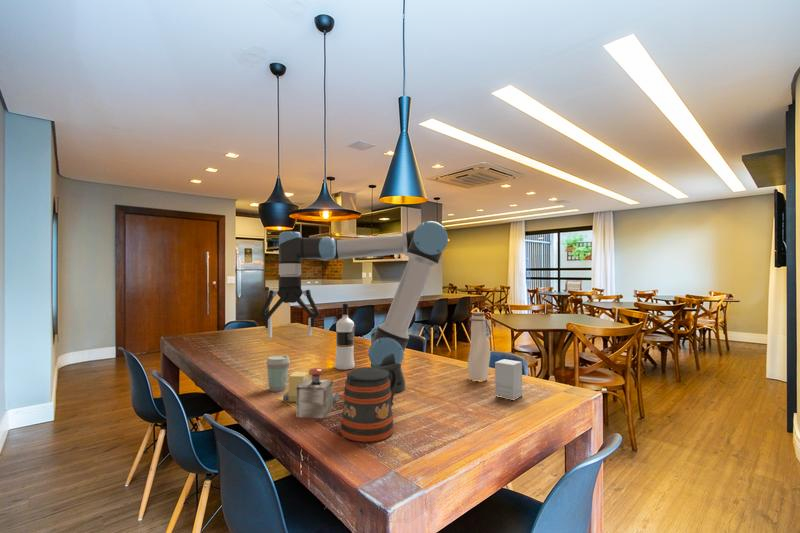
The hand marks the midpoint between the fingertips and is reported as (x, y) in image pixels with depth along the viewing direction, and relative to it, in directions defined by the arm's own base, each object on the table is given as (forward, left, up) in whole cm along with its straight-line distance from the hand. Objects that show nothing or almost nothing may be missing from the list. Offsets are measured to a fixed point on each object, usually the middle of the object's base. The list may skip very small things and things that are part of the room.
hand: (290, 337), depth 134 cm
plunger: (-13, +12, -13) cm, 22 cm away
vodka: (-10, -46, -22) cm, 52 cm away
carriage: (-4, +1, -21) cm, 22 cm away
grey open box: (-13, +12, -21) cm, 28 cm away
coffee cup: (+8, -10, -22) cm, 25 cm away
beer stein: (-32, +24, -22) cm, 45 cm away
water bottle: (-70, -31, -22) cm, 80 cm away
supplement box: (-77, -9, -22) cm, 81 cm away
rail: (-8, +1, -21) cm, 23 cm away
